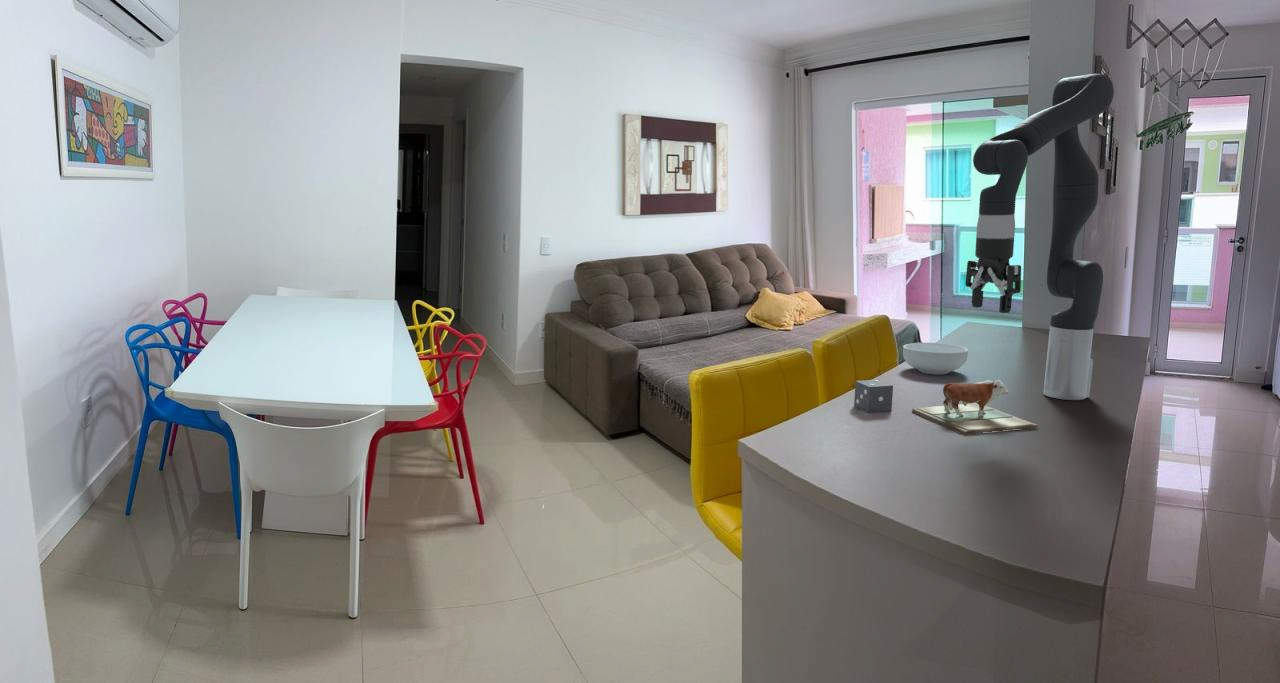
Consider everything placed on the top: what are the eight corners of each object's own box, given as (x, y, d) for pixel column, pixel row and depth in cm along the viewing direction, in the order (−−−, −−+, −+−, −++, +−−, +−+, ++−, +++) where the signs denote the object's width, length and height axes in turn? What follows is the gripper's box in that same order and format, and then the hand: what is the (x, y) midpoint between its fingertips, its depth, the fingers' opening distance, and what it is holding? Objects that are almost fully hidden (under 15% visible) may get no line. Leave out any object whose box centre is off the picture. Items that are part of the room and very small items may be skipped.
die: (876, 404, 182) (878, 379, 181) (891, 411, 176) (893, 385, 175) (853, 406, 180) (855, 380, 179) (868, 412, 174) (869, 386, 173)
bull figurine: (1007, 419, 166) (1011, 382, 165) (942, 416, 168) (945, 380, 167) (1001, 413, 171) (1004, 377, 169) (937, 411, 172) (940, 375, 171)
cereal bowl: (964, 367, 221) (966, 343, 220) (968, 380, 206) (970, 354, 205) (901, 363, 227) (903, 340, 226) (901, 375, 212) (902, 350, 210)
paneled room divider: (979, 406, 180) (979, 402, 180) (1037, 428, 163) (1038, 424, 163) (912, 412, 175) (912, 407, 175) (964, 435, 158) (965, 430, 158)
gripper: (1034, 236, 161) (1028, 313, 164) (986, 233, 175) (982, 304, 178) (1004, 238, 159) (999, 316, 162) (958, 234, 173) (954, 306, 176)
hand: (990, 309), depth 170 cm, fingers open, 8 cm apart
